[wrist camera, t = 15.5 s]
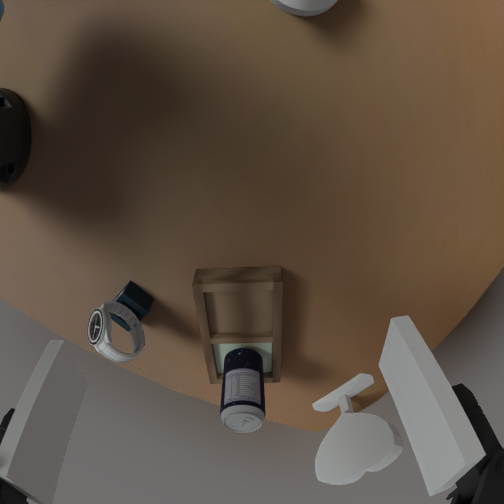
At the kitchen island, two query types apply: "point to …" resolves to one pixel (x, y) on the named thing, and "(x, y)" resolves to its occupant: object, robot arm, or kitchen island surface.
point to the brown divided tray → (240, 316)
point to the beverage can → (243, 391)
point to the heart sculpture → (354, 438)
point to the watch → (120, 322)
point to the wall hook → (304, 6)
